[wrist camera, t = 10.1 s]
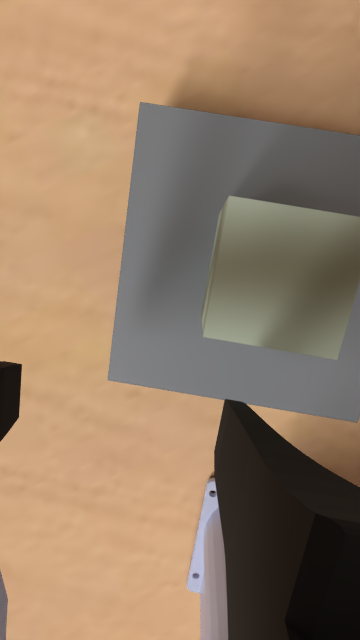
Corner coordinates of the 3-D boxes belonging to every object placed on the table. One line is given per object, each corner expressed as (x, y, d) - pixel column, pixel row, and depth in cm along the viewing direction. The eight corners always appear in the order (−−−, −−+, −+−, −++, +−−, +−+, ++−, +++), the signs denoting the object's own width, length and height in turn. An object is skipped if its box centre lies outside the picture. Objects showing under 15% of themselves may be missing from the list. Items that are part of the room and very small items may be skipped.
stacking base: (334, 398, 20) (357, 422, 17) (120, 362, 21) (107, 380, 18) (399, 165, 17) (441, 147, 14) (149, 127, 18) (139, 102, 15)
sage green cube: (295, 328, 16) (337, 360, 12) (201, 312, 17) (202, 337, 12) (320, 230, 15) (377, 219, 11) (219, 214, 16) (229, 195, 11)
